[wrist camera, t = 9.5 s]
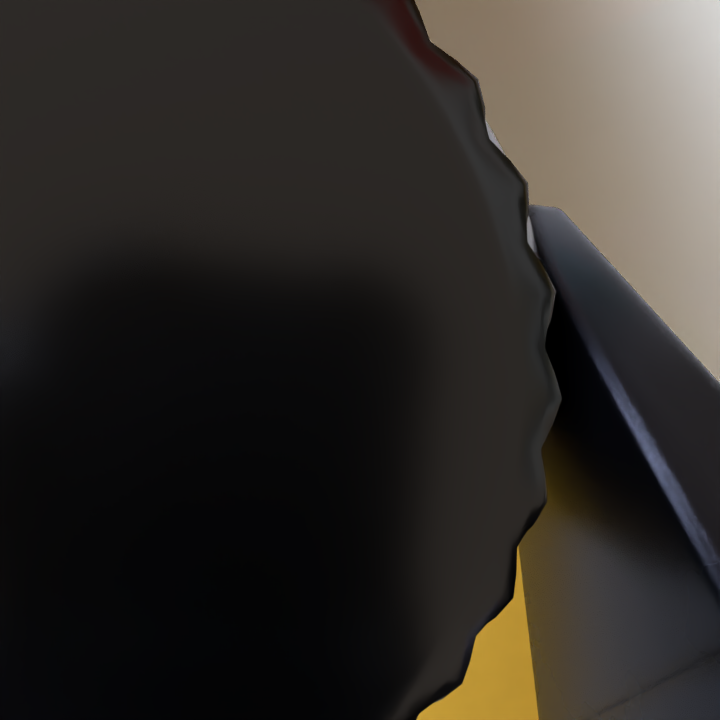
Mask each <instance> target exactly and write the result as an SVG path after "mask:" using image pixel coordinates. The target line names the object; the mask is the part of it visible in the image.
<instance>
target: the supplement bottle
mask: <svg viewBox="0 0 720 720" xmlns="http://www.w3.org/2000/svg"><path fill="white" fill-rule="evenodd" d="M555 293H556V290H555V288H554V286H553V284H552V283H551V281H550V279H549V277H548V275H547V273H546V271H545V269H544V267H543V265H542V264H541V262H540V261H539V257H538V252H537V247H536V242H535V237H534V233H533V228H532V224H531V221H530V217H529V197H528V183H527V181H526V180H525V179H524V178H523V176H522V175H521V174H520V173H519V171H518V170H517V169H516V167H515V166H514V165H513V164H512V162H511V161H510V160H509V159H508V158H507V157H506V155H505V153H504V151H503V150H502V148H501V146H500V144H499V142H498V140H497V138H496V137H495V135H494V133H493V131H492V129H491V127H490V126H489V124H488V123H487V121H486V120H485V106H484V102H483V98H482V93H481V89H480V85H479V81H478V79H477V78H476V77H475V76H474V75H473V74H471V73H470V72H469V71H468V70H467V69H466V68H464V67H463V66H462V65H461V64H460V63H459V62H458V61H456V60H455V59H454V58H452V57H451V56H450V55H448V54H447V53H445V52H444V51H443V50H441V49H440V48H438V47H437V46H436V45H434V44H433V43H431V42H430V40H429V37H428V34H427V32H426V29H425V26H424V23H423V20H422V18H421V15H420V12H419V10H418V8H417V5H416V3H415V1H414V0H0V720H417V717H418V715H419V714H420V713H421V712H422V711H424V710H425V709H426V708H428V707H429V706H430V705H432V704H433V703H435V702H437V701H440V700H442V699H443V698H445V697H446V696H447V695H449V694H450V693H451V692H452V691H454V690H455V689H456V688H458V687H459V686H460V685H462V683H463V681H464V678H465V675H466V672H467V669H468V666H469V663H470V660H471V655H472V651H473V647H474V642H475V638H476V635H477V634H478V633H479V632H480V631H481V630H482V629H483V628H484V627H485V625H486V624H487V623H489V622H490V621H492V620H493V619H494V618H496V617H497V616H498V615H499V614H500V612H501V611H502V610H503V609H504V608H505V607H506V606H507V605H508V604H509V602H510V601H511V600H512V599H513V598H514V590H515V581H516V574H517V547H518V545H519V543H520V542H521V540H522V539H523V537H524V535H525V534H526V532H527V531H528V530H529V529H530V528H531V527H532V526H533V525H534V524H535V522H536V520H537V519H538V517H539V515H540V514H541V512H542V510H543V509H544V507H545V505H546V504H547V502H548V501H547V490H546V478H545V472H544V466H543V460H542V455H541V448H542V446H543V444H544V442H545V440H546V438H547V436H548V433H549V431H550V429H551V427H552V425H553V422H554V420H555V417H556V414H557V411H558V408H559V405H560V403H561V400H562V396H561V393H560V389H559V386H558V382H557V379H556V376H555V372H554V370H553V367H552V365H551V362H550V360H549V357H548V355H547V352H546V350H545V341H546V334H547V329H548V326H549V324H550V321H551V319H552V313H553V306H554V300H555Z"/></svg>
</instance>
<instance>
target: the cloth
mask: <svg viewBox="0 0 720 720" xmlns="http://www.w3.org/2000/svg"><path fill="white" fill-rule="evenodd" d="M417 720H539V717H538V709H537V701H536V692H535V684H534V675H533V667H532V658H531V650H530V641H529V633H528V624H527V616H526V607H525V599H524V590H523V582H522V573H521V565H520V556H519V548H518V547H517V574H516V581H515V590H514V598H513V599H512V600H511V601H510V602H509V604H508V605H507V606H506V607H505V608H504V609H503V610H502V611H501V612H500V614H499V615H498V616H497V617H496V618H494V619H493V620H492V621H490V622H489V623H487V624H486V625H485V627H484V628H483V629H482V630H481V631H480V632H479V633H478V634H477V635H476V638H475V642H474V647H473V651H472V655H471V660H470V663H469V666H468V669H467V672H466V675H465V678H464V681H463V683H462V685H460V686H459V687H458V688H456V689H455V690H454V691H452V692H451V693H450V694H449V695H447V696H446V697H445V698H443V699H442V700H440V701H437V702H435V703H433V704H432V705H430V706H429V707H428V708H426V709H425V710H424V711H422V712H421V713H420V714H419V715H418V717H417Z"/></svg>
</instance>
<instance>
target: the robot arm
mask: <svg viewBox="0 0 720 720" xmlns="http://www.w3.org/2000/svg"><path fill="white" fill-rule="evenodd" d="M529 217H530V221H531V224H532V228H533V233H534V237H535V242H536V247H537V252H538V257H539V261H540V262H541V264H542V265H543V267H544V269H545V271H546V273H547V275H548V277H549V279H550V281H551V283H552V284H553V286H554V288H555V290H556V293H555V300H554V306H553V313H552V319H551V321H550V324H549V326H548V329H547V334H546V341H545V350H546V352H547V355H548V357H549V360H550V362H551V365H552V367H553V370H554V372H555V376H556V379H557V382H558V386H559V389H560V393H561V396H562V400H561V403H560V405H559V408H558V411H557V414H556V417H555V420H554V422H553V425H552V427H551V429H550V431H549V433H548V436H547V438H546V440H545V442H544V444H543V446H542V448H541V455H542V460H543V466H544V472H545V478H546V490H547V501H548V502H547V504H546V505H545V507H544V509H543V510H542V512H541V514H540V515H539V517H538V519H537V520H536V522H535V524H534V525H533V526H532V527H531V528H530V529H529V530H528V531H527V532H526V534H525V535H524V537H523V539H522V540H521V542H520V543H519V545H518V548H519V556H520V565H521V573H522V582H523V590H524V599H525V607H526V616H527V624H528V633H529V641H530V650H531V658H532V667H533V675H534V684H535V692H536V701H537V709H538V717H539V720H720V383H719V382H718V381H717V380H716V379H715V378H714V376H713V375H712V374H711V373H710V372H709V371H708V370H707V369H706V368H705V367H704V365H703V364H702V363H701V362H700V361H699V360H698V359H697V358H696V357H695V356H694V355H693V353H692V352H691V351H690V350H689V349H688V348H687V347H686V346H685V345H684V344H683V342H682V341H681V340H680V339H679V338H678V337H677V336H676V335H675V334H674V333H673V331H672V330H671V329H670V328H669V327H668V326H667V325H666V324H665V323H664V322H663V321H662V319H661V318H660V317H659V316H658V315H657V314H656V313H655V312H654V311H653V310H652V308H651V307H650V306H649V305H648V304H647V303H646V302H645V301H644V300H643V299H642V297H641V296H640V295H639V294H638V293H637V292H636V291H635V290H634V289H633V288H632V287H631V285H630V284H629V283H628V282H627V281H626V280H625V279H624V278H623V277H622V276H621V274H620V273H619V272H618V271H617V270H616V269H615V268H614V267H613V266H612V265H611V263H610V262H609V261H608V260H607V259H606V258H605V257H604V256H603V255H602V254H601V253H600V251H599V250H598V249H597V248H596V247H595V246H594V245H593V244H592V243H591V242H590V240H589V239H588V238H587V237H586V236H585V235H584V234H583V233H582V232H581V231H580V229H579V228H578V227H577V226H576V225H575V224H574V223H573V222H572V221H571V220H570V219H569V217H568V216H567V215H566V214H565V213H564V212H563V211H562V210H561V209H559V208H556V207H548V206H539V205H529Z"/></svg>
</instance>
